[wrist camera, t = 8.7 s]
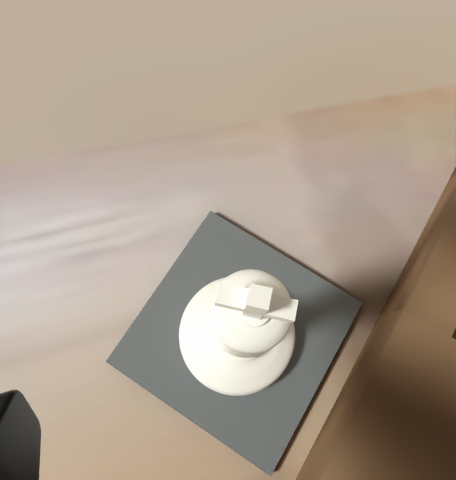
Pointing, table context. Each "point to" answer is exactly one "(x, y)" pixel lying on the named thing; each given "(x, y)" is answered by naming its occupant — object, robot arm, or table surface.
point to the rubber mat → (217, 404)
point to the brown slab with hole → (402, 375)
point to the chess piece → (239, 332)
